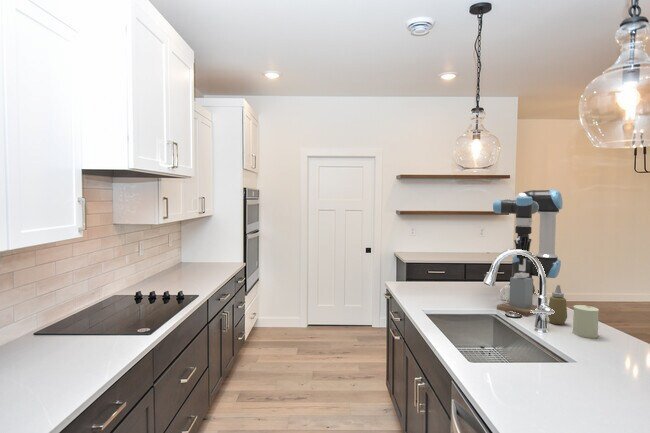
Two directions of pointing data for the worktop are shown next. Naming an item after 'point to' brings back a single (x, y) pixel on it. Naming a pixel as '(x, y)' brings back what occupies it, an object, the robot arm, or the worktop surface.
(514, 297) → the soap dispenser
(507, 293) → the cup
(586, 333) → the can
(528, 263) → the robot arm
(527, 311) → the walnut caddy
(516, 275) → the pump head
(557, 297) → the squeeze bottle
